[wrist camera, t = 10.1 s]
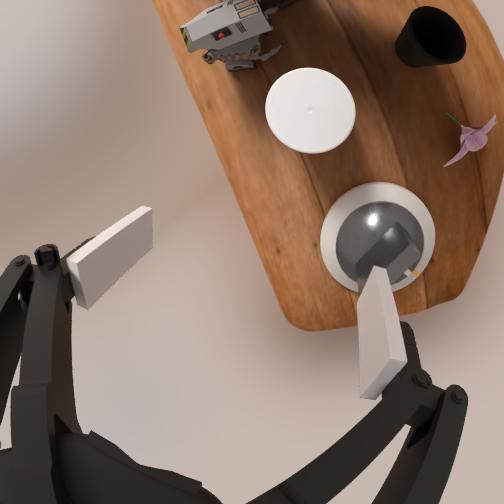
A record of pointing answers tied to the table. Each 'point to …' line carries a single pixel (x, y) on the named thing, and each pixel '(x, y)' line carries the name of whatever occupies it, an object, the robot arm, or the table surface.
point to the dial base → (361, 197)
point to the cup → (430, 39)
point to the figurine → (231, 33)
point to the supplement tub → (310, 110)
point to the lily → (472, 138)
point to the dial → (379, 242)
